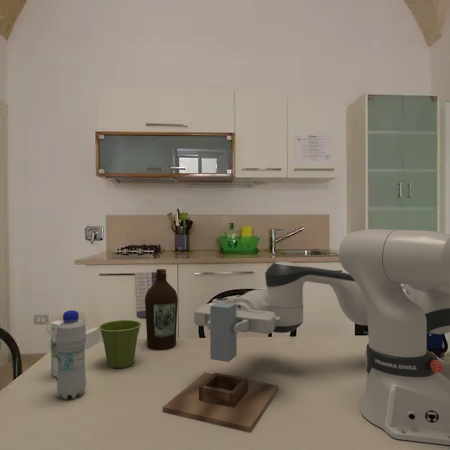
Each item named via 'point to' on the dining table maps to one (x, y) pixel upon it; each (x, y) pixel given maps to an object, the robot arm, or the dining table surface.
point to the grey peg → (222, 331)
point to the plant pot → (120, 342)
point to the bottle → (71, 355)
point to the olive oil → (161, 313)
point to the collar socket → (223, 400)
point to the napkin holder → (93, 337)
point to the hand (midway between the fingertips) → (221, 327)
